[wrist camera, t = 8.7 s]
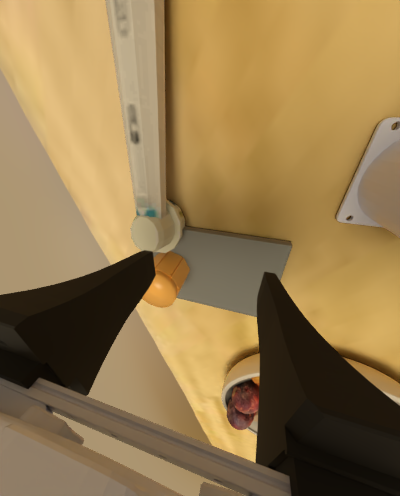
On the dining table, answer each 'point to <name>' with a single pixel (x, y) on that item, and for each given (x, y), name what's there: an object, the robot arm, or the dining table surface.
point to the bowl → (247, 390)
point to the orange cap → (167, 279)
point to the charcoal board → (228, 267)
